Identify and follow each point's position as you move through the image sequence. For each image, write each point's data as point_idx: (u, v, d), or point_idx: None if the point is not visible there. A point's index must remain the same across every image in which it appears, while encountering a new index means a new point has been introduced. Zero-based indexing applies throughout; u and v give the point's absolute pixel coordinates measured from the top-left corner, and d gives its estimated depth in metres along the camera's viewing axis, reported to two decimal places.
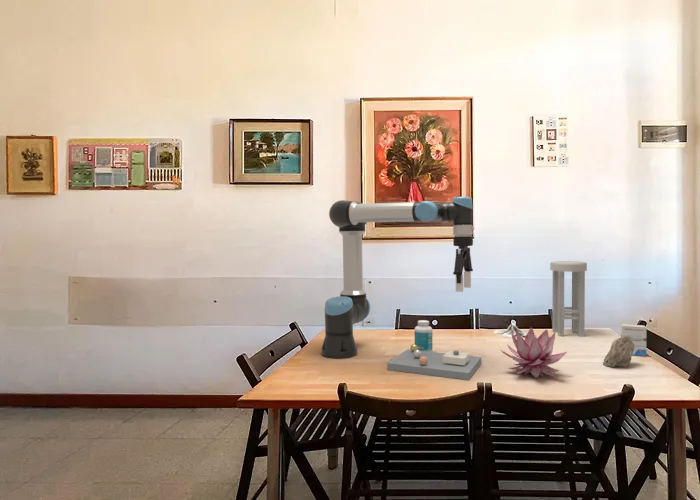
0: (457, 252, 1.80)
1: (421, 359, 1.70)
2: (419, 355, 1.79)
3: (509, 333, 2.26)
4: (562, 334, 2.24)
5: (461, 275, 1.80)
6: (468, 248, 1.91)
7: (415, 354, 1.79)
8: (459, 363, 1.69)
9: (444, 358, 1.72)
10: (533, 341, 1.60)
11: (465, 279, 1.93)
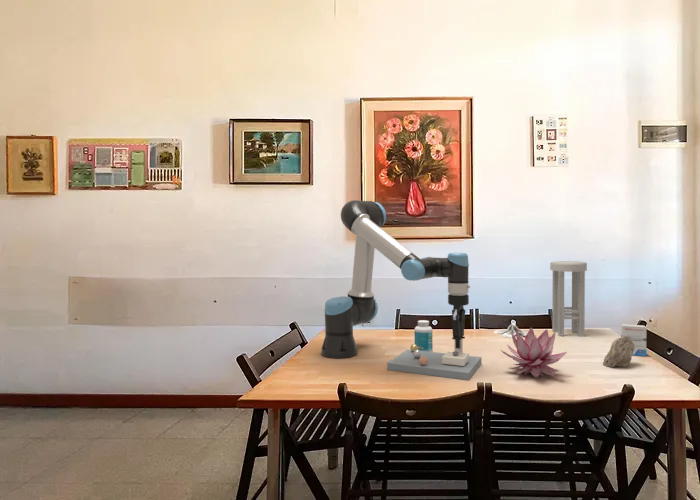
0: (453, 319, 1.72)
1: (421, 359, 1.70)
2: (419, 355, 1.79)
3: (509, 333, 2.26)
4: (562, 334, 2.24)
5: (460, 340, 1.76)
6: None
7: (415, 354, 1.79)
8: (458, 363, 1.69)
9: (443, 359, 1.71)
10: (533, 341, 1.60)
11: None
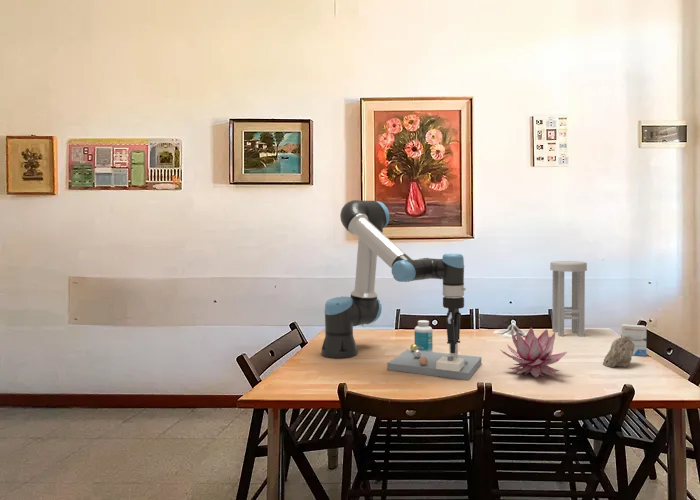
0: (447, 322, 1.65)
1: (421, 359, 1.70)
2: (419, 355, 1.79)
3: (509, 333, 2.26)
4: (562, 334, 2.24)
5: (455, 344, 1.70)
6: None
7: (415, 354, 1.79)
8: (453, 369, 1.62)
9: (438, 364, 1.64)
10: (533, 341, 1.60)
11: None
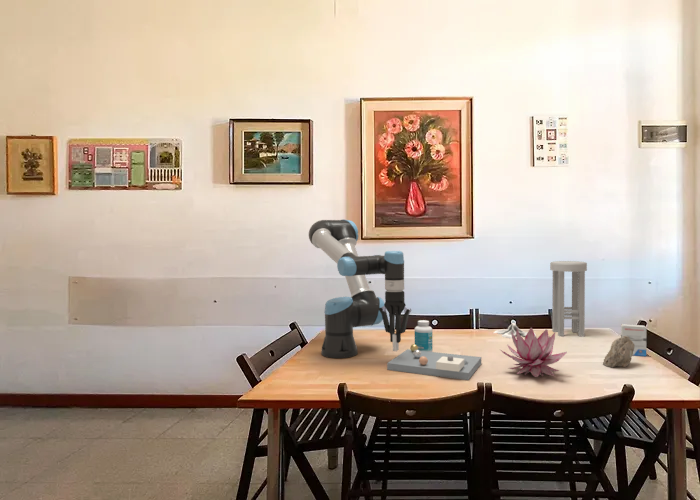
0: None
1: (421, 359, 1.70)
2: (419, 355, 1.79)
3: (510, 333, 2.26)
4: (562, 334, 2.24)
5: (392, 334, 1.84)
6: (407, 309, 1.81)
7: (415, 354, 1.79)
8: (453, 369, 1.62)
9: (438, 364, 1.64)
10: (533, 341, 1.60)
11: None
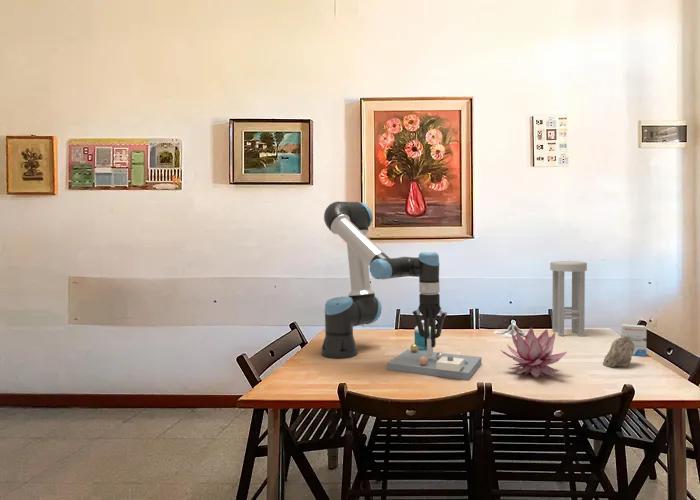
0: None
1: (421, 359, 1.70)
2: (442, 355, 1.75)
3: (510, 333, 2.26)
4: (562, 334, 2.24)
5: (427, 339, 1.77)
6: (443, 313, 1.74)
7: (438, 357, 1.75)
8: (453, 369, 1.62)
9: (438, 364, 1.64)
10: (533, 341, 1.60)
11: None
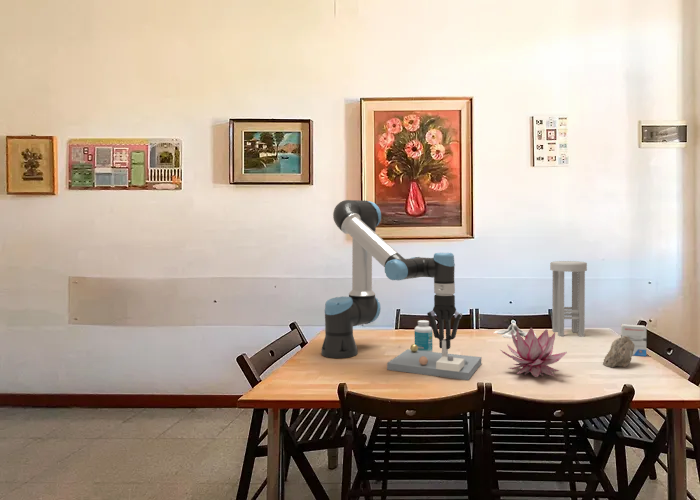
0: None
1: (421, 359, 1.70)
2: None
3: (510, 333, 2.26)
4: (562, 334, 2.24)
5: (442, 340, 1.75)
6: (458, 314, 1.72)
7: None
8: (453, 369, 1.62)
9: (438, 364, 1.64)
10: (533, 341, 1.60)
11: None
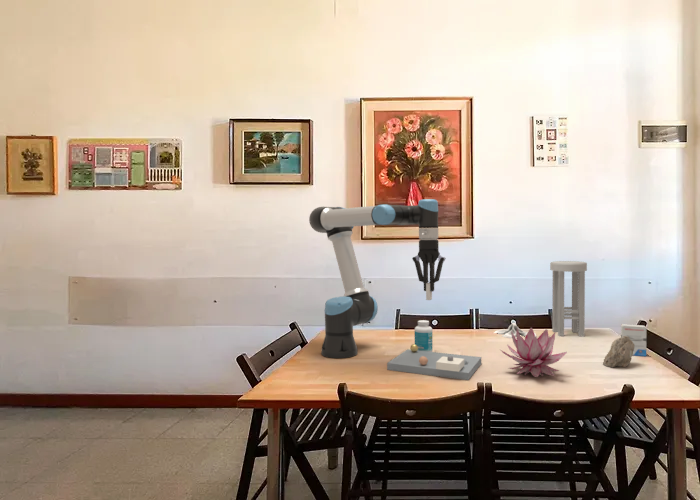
0: None
1: (421, 359, 1.70)
2: None
3: (510, 333, 2.26)
4: (562, 334, 2.24)
5: (426, 283, 1.83)
6: (441, 257, 1.80)
7: None
8: (453, 369, 1.62)
9: (438, 364, 1.64)
10: (533, 341, 1.60)
11: None
